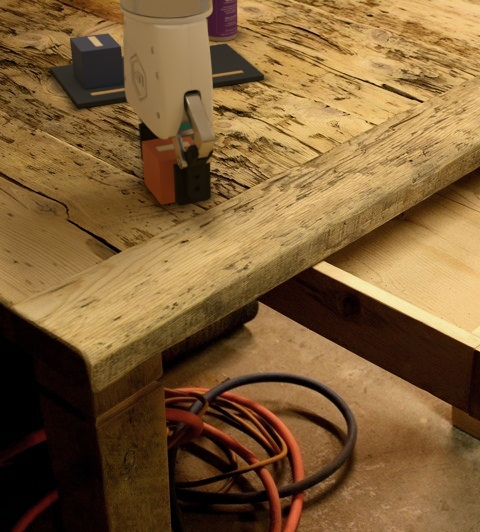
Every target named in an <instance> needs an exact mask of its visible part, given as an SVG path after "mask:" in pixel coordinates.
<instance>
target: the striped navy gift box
mask: <svg viewBox="0 0 480 532" xmlns="http://www.w3.org/2000/svg"><path fill="white" fill-rule="evenodd" d="M69 44H70V53H71V60H72V61H71V64H73V73H74V76H75V77H76V79H77V80H78V81H79V82H80V84H81V85H82V86H83V87H84V89H93V88H99V87H106V86H113V85H119V84H124V78H123V65H122V57H123V53H122V46H121V45H120V44H119V43H118V41H117V40H115V39H114V38H113V36H112V35H111V34H110V33H109V32H108V33H99V34H91V35H83V36H75V37H70V38H69Z"/></svg>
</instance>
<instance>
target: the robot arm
mask: <svg viewBox="0 0 480 532" xmlns="http://www.w3.org/2000/svg"><path fill="white" fill-rule="evenodd" d="M119 7H120V8H119V9H120V10H119V11H120V13H121V14H122V15H123V26H122V27H123V29H122V31H123V32H122V33H123V36H122V38H123V39H122V41H123V57H124V79H125V95H126V99H127V101H126V102H127V103H128V105H129V107H130V108H131V110H132V111H134V112H135V114H136V115H137V118H138V121H139V122H140V123H138V134H139V135H138V136H139V148H140V159H141V161H142V162H143V152H142V141H148V140H153V139H159V138H161V139H163V140H165V139H168V137H171V138H172V142H173V146H174V150H175V154H176V158H177V164H173V169H174V189H175V202H174V203H176V204H177V206H179V207H184V206H189V205H192V204H197V203H202V202H207V201H209V200H210V199H211V198H212V184H211V183H212V181H211V179H212V178H211V176H212V175H211V164H212V161H213V158H212V156H213V152H214V150H213V148H214V146H215V143H216V134H215V132H214V129H213V123H214V87H213V82H212V68H211V56H210V46H211V45H210V40H209V37H208V29H207V22H206V18H207V17H208V16H209V15H211V13H212V11H213V6H212V0H119ZM141 122H144V123H141ZM188 122H190V125H191V127H192V128H188V129H183V130H179V127H180V125H181V124H182V123H188ZM191 136H194V141H193V142H194V145H190V146H189V147H188V149H187V150H186V152H185V149H184V145H183V141H182V138H185V137H191Z"/></svg>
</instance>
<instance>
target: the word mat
mask: <svg viewBox="0 0 480 532" xmlns="http://www.w3.org/2000/svg"><path fill="white" fill-rule="evenodd" d="M209 46H210V56H211V68H212V82H213V88H218V87H224V86H232V85H238V84H244V83H250V82H259V81H263V80H265V74H263V72H261V71H260V70H259V69H257V68H256V67H255V66H254V65H253V64H252V63H251V62H249V61H248V60H247V59H246V58H245V57H243V56H242V55H241V54H240V53H238V51H236V50H235V49H234V48H232V47H231V46H230V45H228V43H220V44H211V45H209ZM122 65H123V78H124V56H122ZM49 70H50V71H49V72H50V74H51V75H52V76H53V77H54V79H55V80H56V81H57V83H58V84H59V85H60V87H61V88H62V89H63V90H64V92H65V94H67V96H68V97H69V98H70V100H71V101H72V102H73V103H74V105H75V106H76V107H77V109H87V108H91V107H99V106H105V105H111V104H116V103H117V104H118V103H122V102H128V101H127V99H126V95H125V79H124V84H119V85H113V86H106V87H99V88H93V89H84V87H83V86H82V85H81V84H80V82H79V81H78V80H77V79H76V77H75V76H74V73H73V64H72V63H70V64H64V65H63V64H62V65H57V66H50V67H49Z"/></svg>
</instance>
